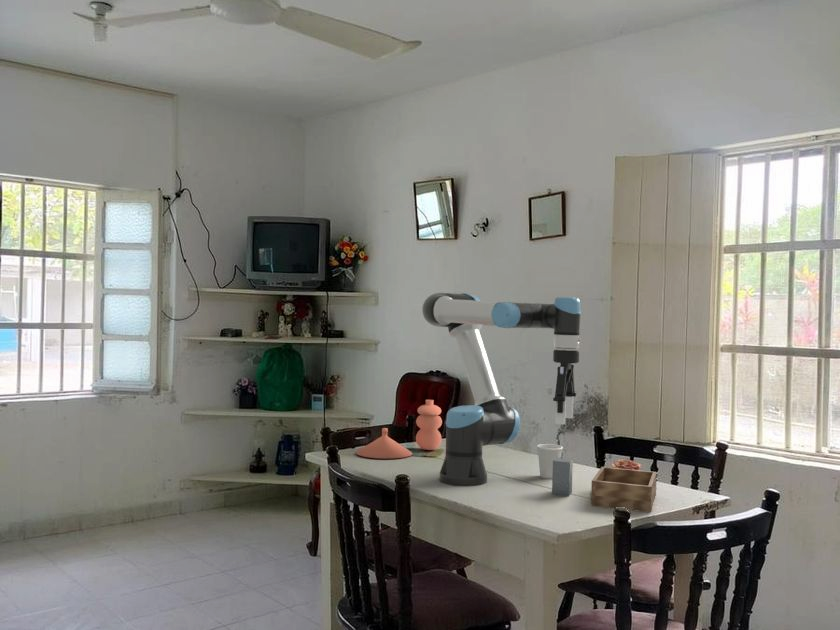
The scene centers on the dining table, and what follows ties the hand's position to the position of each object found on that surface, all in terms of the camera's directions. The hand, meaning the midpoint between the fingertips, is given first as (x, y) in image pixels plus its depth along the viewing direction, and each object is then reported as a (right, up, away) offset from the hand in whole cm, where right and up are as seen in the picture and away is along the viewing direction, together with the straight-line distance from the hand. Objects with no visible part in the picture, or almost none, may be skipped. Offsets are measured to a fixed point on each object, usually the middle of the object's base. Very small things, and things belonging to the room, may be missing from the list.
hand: (564, 421), depth 221 cm
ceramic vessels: (-50, -20, +60) cm, 81 cm away
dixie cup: (-1, -22, +22) cm, 31 cm away
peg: (-1, -22, 0) cm, 22 cm away
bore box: (+16, -22, -7) cm, 28 cm away
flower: (+22, -22, +14) cm, 34 cm away
